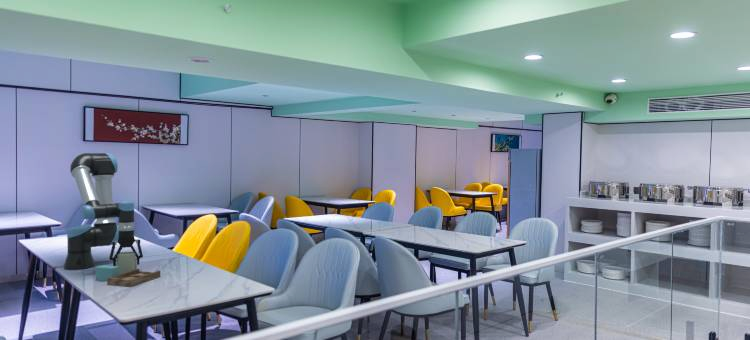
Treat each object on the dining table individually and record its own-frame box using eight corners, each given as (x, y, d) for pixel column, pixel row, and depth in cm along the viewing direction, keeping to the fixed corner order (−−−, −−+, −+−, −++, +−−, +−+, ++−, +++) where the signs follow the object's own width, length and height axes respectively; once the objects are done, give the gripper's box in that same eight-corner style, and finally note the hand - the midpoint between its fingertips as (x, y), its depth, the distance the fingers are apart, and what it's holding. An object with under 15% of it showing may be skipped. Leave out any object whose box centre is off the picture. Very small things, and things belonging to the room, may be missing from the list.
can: (139, 273, 285) (139, 251, 284) (126, 277, 276) (126, 254, 275) (126, 271, 288) (126, 250, 287) (112, 275, 279) (112, 253, 278)
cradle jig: (107, 284, 260) (107, 278, 260) (137, 274, 282) (137, 268, 282) (131, 286, 257) (131, 280, 257) (160, 276, 278) (160, 270, 278)
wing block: (95, 280, 268) (95, 267, 268) (103, 278, 273) (103, 265, 273) (112, 282, 266) (112, 268, 265) (119, 280, 270) (119, 266, 270)
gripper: (104, 232, 272) (104, 275, 273) (149, 229, 283) (149, 271, 284) (103, 230, 279) (103, 272, 279) (147, 227, 290) (147, 268, 290)
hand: (126, 271), depth 282 cm, fingers closed on can, 9 cm apart
